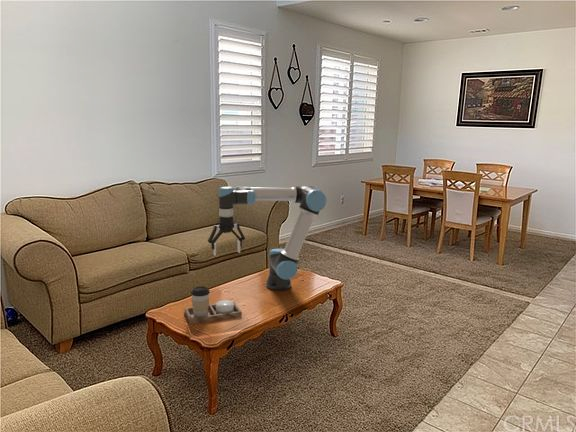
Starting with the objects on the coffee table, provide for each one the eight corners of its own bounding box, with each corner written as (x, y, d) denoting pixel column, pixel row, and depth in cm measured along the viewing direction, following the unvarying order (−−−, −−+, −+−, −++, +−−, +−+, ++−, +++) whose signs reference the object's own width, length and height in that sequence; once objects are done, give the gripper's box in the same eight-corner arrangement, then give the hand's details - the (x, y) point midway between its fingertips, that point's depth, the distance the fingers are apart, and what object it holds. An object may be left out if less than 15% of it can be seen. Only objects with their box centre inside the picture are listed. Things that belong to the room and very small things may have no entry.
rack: (234, 307, 235) (234, 301, 235) (241, 318, 223) (241, 311, 222) (184, 314, 225) (184, 307, 225) (189, 326, 213) (189, 319, 212)
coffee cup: (190, 313, 224) (189, 286, 221) (207, 311, 227) (207, 283, 224) (193, 321, 216) (192, 292, 213) (211, 318, 219) (211, 290, 216)
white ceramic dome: (231, 308, 232) (231, 299, 231) (235, 315, 224) (235, 306, 223) (214, 310, 229) (214, 301, 227) (218, 317, 220) (218, 308, 219)
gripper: (246, 212, 245) (246, 249, 250) (201, 216, 235) (202, 254, 240) (250, 215, 238) (250, 252, 243) (204, 218, 228) (206, 258, 233)
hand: (227, 253), depth 241 cm, fingers open, 13 cm apart
